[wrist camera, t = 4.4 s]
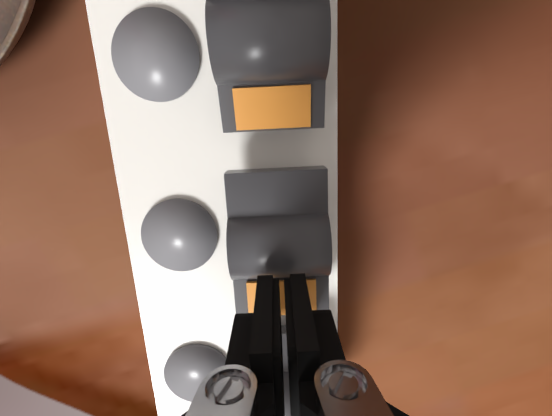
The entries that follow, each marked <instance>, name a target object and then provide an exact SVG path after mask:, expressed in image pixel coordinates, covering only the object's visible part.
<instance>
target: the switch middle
mask: <svg viewBox="0 0 552 416" xmlns="http://www.w3.org/2000/svg"><path fill="white" fill-rule="evenodd" d="M224 184H225V195H226V207H227V218H228V219H227V229H226V248H227V262H228V269H229V274H230V277H231V279H232V280H233V286H234V298H235V309H236V314H240V313H253V312H254V303H255V294H256V284H257V276H258V275H273V279H279V289H280V308H281V316H286V314H285V292H284V278H290V274H300V273H305V276H306V282H307V287H308V292H309V297H310V302H311V308H312V310H329V275H330V274H331V269H332V236H331V227H330V220H329V215H328V169H327V168H326V167H325V166H324V165H322V166H302V167H282V168H262V169H241V170H227V171H226V172H225V173H224Z"/></svg>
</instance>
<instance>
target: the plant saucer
mask: <svg viewBox="0 0 552 416" xmlns="http://www.w3.org/2000/svg"><path fill="white" fill-rule="evenodd" d="M35 1H36V0H0V65H1V64H2V63H3V62H4V61H5V59H6V58H7V57H8V55H9V54H10V53H11V51H12V50H13V48H14V47H15V45H16V44H17V42H18V40H19V39H20V37H21V35H22V33H23V31H24V29H25V27H26V25H27V23H28V21H29V18H30V16H31V13H32V11H33V7H34V4H35Z"/></svg>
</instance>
